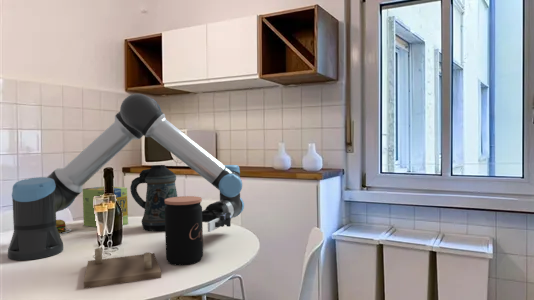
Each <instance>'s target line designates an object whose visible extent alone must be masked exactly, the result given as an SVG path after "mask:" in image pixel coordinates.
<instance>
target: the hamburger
mask: <svg viewBox="0 0 534 300" xmlns="http://www.w3.org/2000/svg"><path fill="white" fill-rule="evenodd" d="M56 227H57V229H58V232H59V234H60V235H63V234H62V233H61V232H63V233H64V234H67V233H70V232H71V231H72V229H71V228H67V225H66V221H65V220H63V219H56Z"/></svg>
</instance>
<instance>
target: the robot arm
mask: <svg viewBox="0 0 534 300" xmlns="http://www.w3.org/2000/svg"><path fill="white" fill-rule="evenodd" d="M143 137H145V138H152V139H153V140H154V141H156V142H157V143H158V144H160V146H162V147H163V148H165V149H166V150H167V151H168V152H170V153H171V154H172V155H173V156H174V157H176V158H177V159H179V160H180V161H181V162H183V164H185V165H187V167H189V168H191V170H193V171H194V172H195V173H196V174H198V175H200V177H202V178H203V179H205V180H206V181H207V182H208V183H210V184H211V185H212V186H213V187H215V188H216V189H217V190H218V191H219V200H217V201H215V202H213V203H210V204H208V205H206V207H205V209H202V223H207V233H211V232H213V231H215V230H217V229H219V228H221V227H225V226H226V227H230V228H231V221H232V219H233V218H236V217H238V216H239V215H240V214H242V213H243V211H244V209H245V203H244V200H243V198H241V191H242V189H243V180H242V179H241V171H240V166H239V165H237V164H223V162H221V161H219V160H218V159H217V158H215V157H214V156H213V155H212V154H211V153H209V152H208V151H207V150H206V149H204V148H203V147H201V146H200V145H199V144H198V143H197V142H195V141H194V140H193V139H192V138H190V137H189V136H188V135H187V134H186V133H184V132H183V131H182V130H180V129H179V128H178V127H177V126H175V125H174V124H173V123H172V122H171V121H169V120H168V119H166V113H164V112H163V111H162V109H161V107H160V105H159V104H158V102H157V101H156V100H155V99H154V98H152V97H149V96H148V95H146V94H142V93H134V94H130V95H128V96H127V97H126V98H125V99H123V101H122V102H121V105H120V107H119V111H118V113H116V114H115V115H114V122H113V123H112V124H111V125H109V127H108V128H106V129H105V130H103V132H102V133H100V135H99V136H97V137H96V138H95V139H94V140H93V141H92V142H91V143H90V144H89V145H87V146H86V148H85V149H83V150H82V151H81V152H80V153H79V154H78V155H77V156H75V157H74V158H73V159H72V160H71V161H70V162H69V163H68V164H67V165H66V166H64V167H63V168H56V169H55V170H53V171H52V172H51V173H50V174H49V175H48V176H46V177H43V176H40V177H31V178H28V179H27V178H25V179H21V180H18V181H16V182H15V183H14V184H13V185H12V189H11V190H12V192H11V198H12V199H11V200H12V219H13V220H12V221H13V234H12V236H11V240H10V242H9V245H8V248H7V258H8V259H9V260H14V261H30V260H36V259H37V260H39V259H43V258H48V257H51V256H52V257H53V256H55V255H58V254H60V253H61V252H63V251H64V243H63V240H62V237H61V234H59V232H58V229H57V227H56V220H57V212H60V211H63V210H64V209H65V210H66V209H68V208H69V207H70V206H71V205H72V204H73V202H74V201H75V199H76V198H77V197H78V196H79V195H80V194H82V193H83V189H84V188H83V186H84V185H85V184H86V183H87V182H88V181H89V180H90V179H91V178H92V177H94V175H96V173H98V172H99V171H100V170H101V169H102V168H103V167H105V166H106V164H107V163H109V162H110V161H111V160H112V159H113V158H114V157H115V156H116V155H118V153H120V152H121V151H122V150H123V149H124V148H125V147H126V146H127V145H128V144H129V143H131V142H132V141H133V140H141V138H143Z"/></svg>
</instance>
